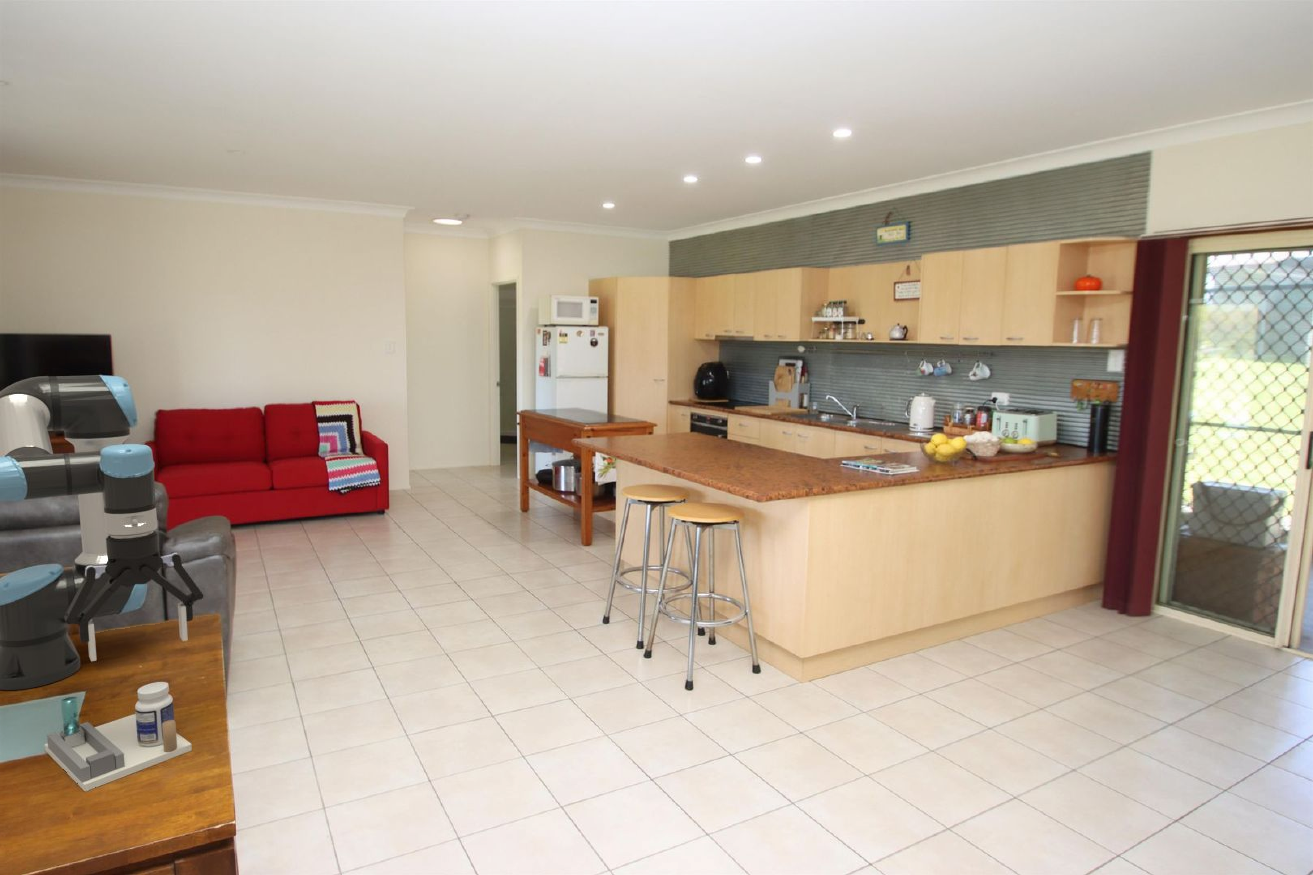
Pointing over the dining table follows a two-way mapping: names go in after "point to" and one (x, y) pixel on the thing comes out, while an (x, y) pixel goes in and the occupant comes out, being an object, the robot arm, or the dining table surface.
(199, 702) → the dining table surface
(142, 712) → the pill bottle
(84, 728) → the board
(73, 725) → the pin
